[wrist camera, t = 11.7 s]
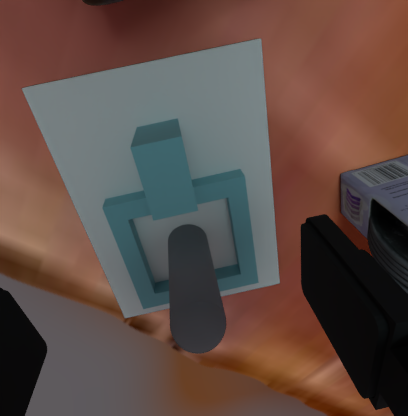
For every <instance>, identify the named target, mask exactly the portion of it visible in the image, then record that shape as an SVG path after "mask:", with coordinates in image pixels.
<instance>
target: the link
mask: <svg viewBox="0 0 408 416" xmlns="http://www.w3.org/2000/svg"><path fill="white" fill-rule="evenodd" d="M130 148H131V152H132V155H133V158H134V161H135V164H136V167H137V170H138V174H139V177H140V180H141V183H142V186H143V189H144V190H143V191H139V192H134V193H130V194H125V195H121V196H116V197H112V198H107V199H105V201H104V204H103V207H102V209H103V211H104V213H105V216H106V218H107V221H108V223H109V226H110V228H111V231H112V233H113V236H114V238H115V241H116V243H117V245H118V248H119V250H120V253H121V255H122V258H123V260H124V263H125V265H126V268H127V270H128V273H129V275H130V278H131V280H132V282H133V285H134V287H135V290H136V292H137V295H138V297H139V300H140V302H141V305H142V307H143V309H146V308H151V307H155V306H160V305H164V304H168V303H169V280H165V281H160V282H156V283H155V280H154V278H153V275H152V272H151V269H150V266H149V264H148V261H147V258H146V255H145V252H144V249H143V247H142V244H141V241H140V238H139V235H138V233H137V230H136V227H135V224H134V221H133V219H135V218H139V217H144V216H148V215H152V218H153V221H154V220H159V219H163V218H168V217H172V216H176V215H181V214H185V213H190V212H194V211H198V207H197V204H202V203H206V202H211V201H215V200H220V199H224V198H226V199H227V205H228V211H229V217H230V223H231V229H232V235H233V241H234V246H235V252H236V258H237V264H235V265H230V266H226V267H222V268H217V269H214V270H215V274H216V278H217V282H218V287H219V291H220V292H221V291H225V290H229V289H234V288H238V287H242V286H247V285H251V284H255V283H259V282H258V274H257V266H256V258H255V251H254V243H253V235H252V227H251V220H250V212H249V204H248V196H247V189H246V181H245V175H244V174H243V172H242V171H241V169H237V170H233V171H228V172H224V173H220V174H215V175H211V176H206V177H202V178H197V179H193V180H192V179H191V175H190V171H189V166H188V162H187V157H186V153H185V148H184V144H183V140H182V135H181V131H180V126H179V122H178V118H177V119H172V120H168V121H163V122H158V123H154V124H149V125H145V126H140V127H137V128H136V131H135V134H134V137H133V141H132V144H131V147H130Z"/></svg>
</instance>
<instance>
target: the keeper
mask: <svg viewBox="0 0 408 416" xmlns="http://www.w3.org/2000/svg"><path fill="white" fill-rule="evenodd" d="M22 90H23V93H24V95H25V97H26V99H27V102H28V104H29V106H30V108H31V110H32V113H33V115H34V117H35V119H36V122H37V124H38V126H39V128H40V130H41V133H42V135H43V137H44V139H45V142H46V144H47V146H48V148H49V150H50V153H51V155H52V157H53V159H54V162H55V164H56V166H57V168H58V170H59V173H60V175H61V177H62V179H63V182H64V184H65V186H66V188H67V190H68V193H69V195H70V197H71V199H72V202H73V204H74V206H75V208H76V210H77V213H78V215H79V217H80V219H81V222H82V224H83V226H84V228H85V230H86V233H87V235H88V237H89V239H90V242H91V244H92V246H93V248H94V250H95V253H96V255H97V257H98V259H99V262H100V264H101V266H102V268H103V270H104V273H105V275H106V277H107V279H108V282H109V284H110V286H111V288H112V290H113V293H114V295H115V297H116V299H117V302H118V304H119V306H120V308H121V310H122V313H123V315H124V317H125V318H129V317H133V316H138V315H142V314H147V313H151V312H155V311H160V310H164V309H169V308H170V329H171V333H172V336H173V338H174V340H175V341H176V343H177V344H178V345H179V346H180V347H181V348H182V349H184V350H186V351H188V352H191V353H205V352H208V351H210V350H212V349H213V348H215V347H216V346H217V345H218V344H219V343H220V341H221V340H222V338H223V336H224V333H225V329H226V317H225V312H224V308H223V304H222V300H221V297H222V296H226V295H231V294H235V293H240V292H244V291H248V290H253V289H257V288H262V287H266V286H271V285H275V284H279V283H280V280H279V267H278V254H277V241H276V227H275V214H274V201H273V188H272V175H271V161H270V148H269V135H268V122H267V109H266V96H265V82H264V69H263V56H262V43H261V39H254V40H249V41H244V42H239V43H234V44H230V45H225V46H220V47H215V48H210V49H206V50H201V51H196V52H191V53H186V54H182V55H177V56H172V57H167V58H162V59H158V60H153V61H148V62H143V63H138V64H134V65H129V66H124V67H119V68H114V69H110V70H105V71H100V72H95V73H91V74H86V75H81V76H76V77H71V78H67V79H62V80H57V81H52V82H47V83H43V84H38V85H33V86H28V87H25V88H22ZM177 118H178V122H179V126H180V131H181V135H182V140H183V144H184V148H185V153H186V157H187V162H188V166H189V171H190V175H191V179H192V180H193V179H197V178H202V177H206V176H211V175H215V174H220V173H224V172H228V171H233V170H237V169H241V171H242V172H243V174H244V175H245V181H246V189H247V196H248V204H249V212H250V220H251V227H252V235H253V243H254V251H255V258H256V266H257V274H258V282H259V283H255V284H251V285H247V286H242V287H238V288H234V289H229V290H225V291H221V292H220V291H219V287H218V282H217V278H216V274H215V270H214V269H217V268H222V267H226V266H230V265H235V264H237V258H236V252H235V246H234V241H233V235H232V229H231V223H230V217H229V211H228V205H227V199H226V198H224V199H220V200H215V201H211V202H206V203H202V204H197V207H198V211H194V212H190V213H185V214H181V215H176V216H172V217H168V218H163V219H159V220H154V221H153V218H152V215H148V216H144V217H139V218H135V219H133V221H134V224H135V227H136V230H137V233H138V235H139V238H140V241H141V244H142V247H143V249H144V252H145V255H146V258H147V261H148V264H149V266H150V269H151V272H152V275H153V278H154V280H155V283H156V282H160V281H165V280H169V303H168V304H164V305H160V306H155V307H151V308H146V309H143V307H142V305H141V302H140V300H139V297H138V295H137V292H136V290H135V287H134V285H133V282H132V280H131V278H130V275H129V273H128V270H127V268H126V265H125V263H124V260H123V258H122V255H121V253H120V250H119V248H118V245H117V243H116V241H115V238H114V236H113V233H112V231H111V228H110V226H109V223H108V221H107V218H106V216H105V213H104V211H103V209H102V207H103V204H104V201H105V199H107V198H112V197H116V196H121V195H125V194H130V193H134V192H139V191H143V190H144V189H143V186H142V183H141V180H140V177H139V174H138V170H137V167H136V164H135V161H134V158H133V155H132V152H131V148H130V147H131V144H132V141H133V137H134V134H135V131H136V128H137V127H140V126H145V125H149V124H154V123H158V122H163V121H168V120H172V119H177Z"/></svg>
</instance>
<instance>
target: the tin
mask: <svg viewBox="0 0 408 416" xmlns="http://www.w3.org/2000/svg"><path fill="white" fill-rule="evenodd" d="M82 1H83V2H84V3H86V4H88V5H96V6H98V5H106V4H111V3H116V2H120V1H123V0H82Z"/></svg>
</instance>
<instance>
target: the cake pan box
mask: <svg viewBox="0 0 408 416" xmlns="http://www.w3.org/2000/svg"><path fill="white" fill-rule="evenodd" d="M341 213H342V214H343V215H344V216H345V217H346V218H347V219H348V220H349V221H350V222H351V223H352V224H353V225H354V226H355V227H356V228H357V229H358V230H359V231H360V232H361V233H362V234H363V235H364V236H365V237H366V238H367V239H368V244H369V248H370V251H371V254H372V256H373V258H374V259H375V260H376V261H377V262H378V263H379V265H380V266H381V267H382V268H383V269H384V270H385V271H386V272H387V273H388V274H389V275H390V276H391V277H392V278H393V279H394V280H395V281H396V282H397V283H398V284H399V285H400V286H401V287H402V289H403V290H404V291H405V292H406V293H407V294H408V155H407V156H403V157H399V158H396V159H392V160H388V161H385V162H381V163H378V164H374V165H371V166H367V167H364V168H360V169H357V170H351V171H347V172H344V173H341Z"/></svg>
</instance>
